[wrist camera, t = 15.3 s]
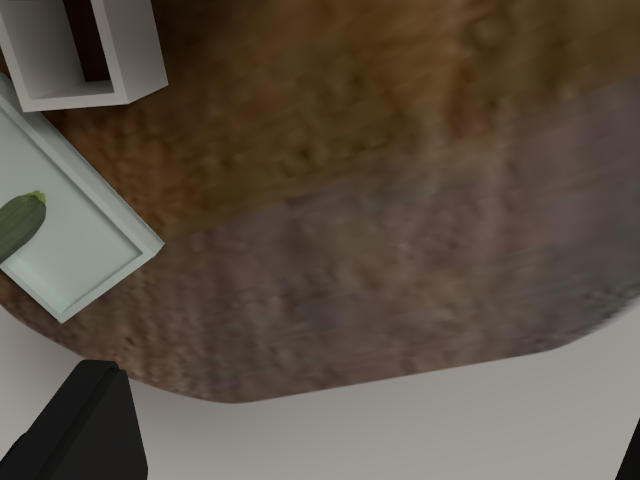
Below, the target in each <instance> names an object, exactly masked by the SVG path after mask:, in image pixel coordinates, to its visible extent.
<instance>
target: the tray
mask: <svg viewBox="0 0 640 480" xmlns="http://www.w3.org/2000/svg"><path fill="white" fill-rule="evenodd" d="M33 191H40V192H39V193H44V194H45V199H46V203H45V205H46V217H45V221H44V222H43V224H42V225H41V227H40V228H39V230H38V231H37V232H36V234H35V235H34V236H33V237H32V238H31V239H30V240H29V241H28V242H27V243H26V244H25V245H24V246H22V247H21V248H20V249H18V250H17V251H16V252H15V253H14V254H12V255H11V256H10V257H9V258H8V259H6V260H5V261H4V262H3V263H2V264H1V265H0V269H2V270H3V271H4V272H5V273H6V274H7V275H8V276H9V277H10V278H12V279H13V280H14V281H15V282H16V283H17V284H18V285H19V286H20V287H22V288H23V289H24V290H25V291H26V292H27V293H28V294H29V295H30V296H31V297H33V298H34V299H35V300H36V301H37V302H38V303H39V304H40V305H41V306H43V307H44V308H45V309H46V310H47V311H48V312H49V313H50V314H51V315H53V316H54V317H55V318H56V319H57V320H58V321H59V322H60V323H61V324H62V323H63V322H65V321H66V320H68V319H69V318H70V317H72V316H73V315H74V314H76V313H77V312H78V311H80V310H81V309H83V308H84V307H85V306H87V305H88V304H89V303H91V302H92V301H94V300H95V299H96V298H98V297H99V296H100V295H102V294H103V293H104V292H106V291H107V290H109V289H110V288H111V287H113V286H114V285H115V284H117V283H118V282H119V281H121V280H122V279H124V278H125V277H126V276H128V275H129V274H130V273H132V272H133V271H134V270H136V269H137V268H139V267H140V266H141V265H143V264H144V263H145V262H147V261H148V260H150V259H151V258H152V257H154V256H155V255H156V254H157V253H158V251H159V250H160V249H161V248H162V246H163V245H164V244H165V243H164V242H163V241H162V240H161V239H160V238H159V236H158V235H157V234H156V233H155V232H154V231H153V230H152V229H151V228H150V227H149V226H148V225H147V224H146V223H145V222H144V221H143V220H142V219H141V217H140V216H139V215H138V214H137V213H136V212H135V211H134V210H133V209H132V208H131V207H130V206H129V205H128V204H127V203H126V202H125V201H124V200H123V198H122V197H121V196H120V195H119V194H118V193H117V192H116V191H115V190H114V189H113V188H112V187H111V186H110V185H109V184H108V183H107V182H106V181H105V179H104V178H103V177H102V176H101V175H100V174H99V173H98V172H97V171H96V170H95V169H94V168H93V167H92V166H91V165H90V164H89V163H88V162H87V160H86V159H85V158H84V157H83V156H82V155H81V154H80V153H79V152H78V151H77V150H76V149H75V148H74V147H73V146H72V145H71V144H70V143H69V142H68V140H67V139H66V138H65V137H64V136H63V135H62V134H61V133H60V132H59V131H58V130H57V129H56V128H55V127H54V126H53V125H52V124H51V123H50V121H49V120H48V119H47V118H46V117H45V116H44V115H43V114H42V113H41V112H40V111H32V112H23V110H22V107H21V104H20V101H19V98H18V95H17V92H16V90H15V87H14V84H13V82H12V81H11V80H10V79H9V78H8V77H7V76H6V75H5V74H4V73H3V72H1V73H0V208H1V207H3V206H4V205H5V204H6V203H7V202H9V201H10V200H12V199H13V198H15V197H17V196H21V195H25V194H27V193H32V192H33Z"/></svg>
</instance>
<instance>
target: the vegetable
mask: <svg viewBox="0 0 640 480" xmlns="http://www.w3.org/2000/svg"><path fill="white" fill-rule="evenodd" d="M39 192H40V191H33V192H32V193H27V194H25V195H21V196H17V197H15V198H13V199H12V200H10V201H9V202H7V203H6V204H5V205H4V206H3V207H1V208H0V265H1V264H2V263H3V262H4V261H5V260H6V259H8V258H9V257H10V256H11V255H12V254H14V253H15V252H16V251H17V250H18V249H20V248H21V247H22V246H24V245H25V244H26V243H27V242H28V241H29V240H30V239H31V238H32V237H33V236H34V235H35V234H36V232H37V231H38V230H39V228H40V227H41V225H42V224H43V222H44V221H45V217H46V205H45V203H46V199H45V194H44V193H39Z"/></svg>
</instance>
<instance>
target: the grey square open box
mask: <svg viewBox="0 0 640 480" xmlns="http://www.w3.org/2000/svg"><path fill="white" fill-rule="evenodd" d="M91 4H92V8H93V11H94V15H95V19H96V23H97V27H98V31H99V34H100V38H101V42H102V46H103V50H104V54H105V58H106V61H107V65H108V69H109V73H110V77H111V80H105V81H93V82H86V81H85V78H84V74H83V70H82V67H81V63H80V60H79V56H78V53H77V49H76V46H75V42H74V39H73V35H72V31H71V28H70V24H69V21H68V17H67V14H66V10H65V7H64V3H63V0H0V46H1V49H2V52H3V55H4V57H5V60H6V63H7V66H8V69H9V72H10V75H11V78H12V81H13V84H14V87H15V90H16V92H17V95H18V98H19V101H20V104H21V107H22V110H23V112H32V111H44V110H57V109H70V108H82V107H95V106H107V105H120V104H129V103H131V102H133V101H136V100H138V99H140V98H142V97H144V96H146V95H148V94H151V93H153V92H155V91H157V90H159V89H161V88H163V87H166V86H168V80H167V75H166V71H165V66H164V61H163V57H162V52H161V47H160V43H159V38H158V33H157V29H156V24H155V19H154V14H153V10H152V5H151V0H91Z"/></svg>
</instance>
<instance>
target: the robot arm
mask: <svg viewBox="0 0 640 480" xmlns="http://www.w3.org/2000/svg"><path fill="white" fill-rule="evenodd" d="M147 476H148V466H147V460H146V456H145V452H144V447H143V443H142V439H141V434H140V429H139V425H138V420H137V416H136V412H135V407H134V403H133V398H132V393H131V389H130V385H129V380H128V376H127V373H126V371H125V370H120V369H119V366H118V364H117V363H116V362H114V361H102V360H82V361H81V362H79V364H78V365H77V366H76V367H75V368H74V370H73V371H72V372H71V374H70V375H69V376H68V378H67V379H66V380H65V382H64V383H63V384H62V386H61V387H60V388H59V390H58V391H57V392H56V394H55V395H54V396H53V398H52V399H51V400H50V402H49V403H48V404H47V405H46V407H45V408H44V409H43V411H42V412H41V413H40V415H39V416H38V417H37V419H36V420H35V421H34V423H33V424H32V426H31V427H30V428H29V430H28V431H27V432H26V433H24V434H23V435H21V436H20V438H19V439H18V440H17V441H16V442H15V443H14V444H13V445H12V447H11V448H10V449H9V451H8V452H7V453H6V455H5V456H4V457H3V459H2V460H1V461H0V480H147ZM615 480H640V419H639V421H638V424H637V426H636V429H635V431H634V434H633V436H632V439H631V441H630V444H629V446H628V449H627V451H626V454H625V456H624V459H623V462H622V464H621V466H620V469H619V471H618V474H617V476H616V479H615Z"/></svg>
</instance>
